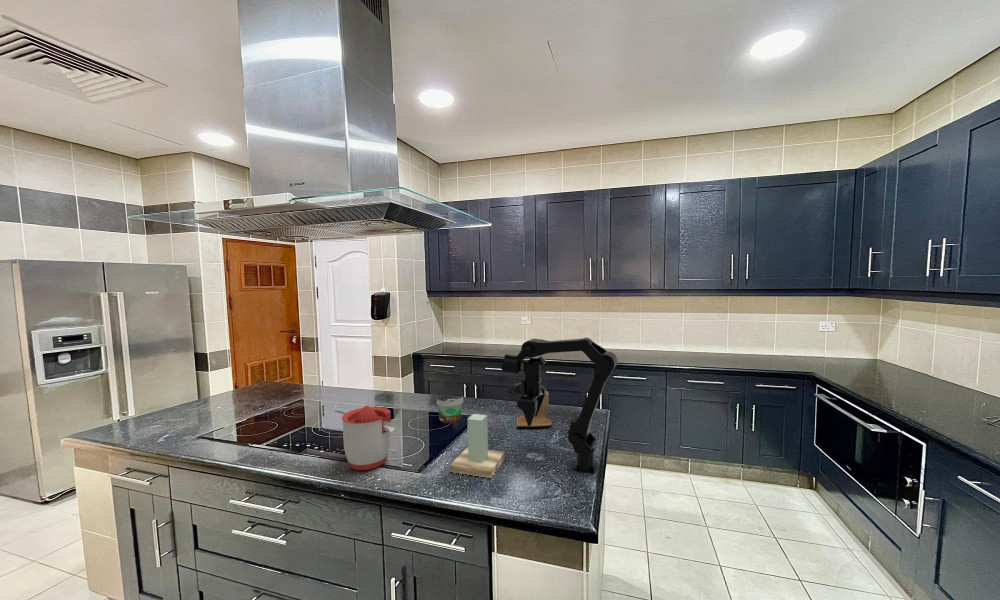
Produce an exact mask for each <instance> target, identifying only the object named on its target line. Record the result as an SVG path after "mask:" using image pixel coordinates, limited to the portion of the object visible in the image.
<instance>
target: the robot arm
mask: <svg viewBox="0 0 1000 600" xmlns="http://www.w3.org/2000/svg"><path fill="white" fill-rule="evenodd" d="M520 348H521V349H520V351H519V353H518V354H517V355H515V354H509V353H506V354H505V355H504V358H503V361H502V364H501V371H502V374H506V375H507V374H508V375H514V376H515V375H517V376H520V375H521V374H522V373H523V379H522V380H521V381H519V382H515V383H513V384H509V385H508V387H507V388H506V389H507V391H506V393H507V395H509V397H511V398H513V397H514V396H517V395H520V397H519V398H518V399H517V400H516V408H517V409H519V410H521V411H522V412H523V414H524V415H523V416H525V418H526V422H527V425H528V426H531V424H532V421H533V418H534V416H537V415H538V413H539V410H540V408H541V405H542V403H543V400H544V398H545V394H546V391H547V388H546V386H545V385H543V384H542V385H541V382H542V380H543V378H542V377H541V365H543V366H544V365H545V364H547V360H546V359H544V358H543V355H547V354H555V353H569V352H571V353H572V352H583V353H584V355H585V356H586V357H587V358H588V359H589V360H590V361H591V362H592V363H593V364H594V370H593V371H594V372H593V379H592V382H591V385H590V387H589V389H588V393H587V394H586V398H585V401H584V403H583V406H582V408H581V412H580V413H579V417H578V416H576V415H575V416H574V417H573V419H571V422H570V425H569V429H568V430H567V431H566V434H568V435H567V440H568V441H569V443H570V444H571V446H572V448H573V451H574V453H575V457H576V459H575V464H574V466H573V470H574V471H578V472H586V473H590V474H591V473H593V474H595V472H596V466H597V463H596V462H595V449H594V446H595V445H596V443H597V438H596V437H595V436H594V435H593V434H592V433H591V428H592V419H593V416H594V413H595V410H596V409H597V405H598V402H599V401H600V398H601V395H602V392H603V390H604V387H605V385H606V384H607V383H606V382H607V381H608V379H609V378H610V376H611V374H612V373H613V371H614V369H615V368H616V366H617V364H618V360H619V359H618V358H617V355H616V354H615V353H614V352H612V351H607V350H606V349H605V348H604V347H603V346H600V345H599V344H597V343H595V342H594V341H593V340H592V339H591V338H589V337H583V338H574V339H560V340H559V339H558V340H546V339H542V338H541V339H539V338H532V339H529V340H526V341H524V342H523V343H522V345H521V347H520ZM536 357H537V358H536ZM541 393H543V395H541ZM525 395H526V396H525Z"/></svg>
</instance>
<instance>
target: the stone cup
mask: <svg viewBox="0 0 1000 600" xmlns="http://www.w3.org/2000/svg"><path fill="white" fill-rule="evenodd" d="M541 395H543V393H541ZM524 396H526V395H524ZM549 402H550V393H549V392H548V391H547V390H546V394H545V398H544V400H543V403H542V405H541V408H540V410H539V413H538V415H537V416H534V418H533V421H532V424H531V426H528V425H527V422H526V418H525V415H522V416H519V417H517V419H516V423H515V424H516V427H523V428H525V427H527V428H531V427H532V428H533V427H535V428H536V427H549V426H552V424H553V422H552V420H551V419H550V418H549V417H547V409H548V407H549Z"/></svg>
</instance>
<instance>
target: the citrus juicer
mask: <svg viewBox="0 0 1000 600" xmlns="http://www.w3.org/2000/svg"><path fill="white" fill-rule="evenodd" d="M391 415H392V414H391V410H390V409H388V408H387V407H382V406H369V405H364V406H363V407H361V408H357V409H353V410H349V411H347V412H345V414H343V415H342V416H341V420H342V435H343V437H342V438H343V449H344V453H345V458H346V460H347V463H348V465H349V467H350V468H351V469H353V470H356V471H368V470H374V469H373V468H378V467H380V466H382V465H384V463H386V461H387V458H388V455H389V451H390V446H391V433H393V432H394V431H395V429H396V425H395V423H392V421H391V420H392V419H391Z"/></svg>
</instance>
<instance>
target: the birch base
mask: <svg viewBox="0 0 1000 600" xmlns="http://www.w3.org/2000/svg"><path fill="white" fill-rule="evenodd" d="M505 455H506V452H505V451H501V450H500V451H499V450H492V449H488V457H487V458H486V459H485V460H484V462H483V463H480V462H473V461H468V446H467V447H465V449H464V450H463V451H462V452H461V453H460V454H459V455H458V456H457V457H456V458H455V459H454V460H453V461H452V462H451V463H450V465H449V473H450V472H453V473H452V474H456V473H459V474H458V475H462V474H467V475H466V476H468V475H473V476H472V477H474V476H479V477H478V478H480V477H486V478H485V479H487V478H493V477H494V476H495V474H496V473H497V472H498V470H499V468H500V467H501V466H502V464H503V462H505V459H506V456H505ZM495 472H496V473H495ZM493 475H494V476H493ZM492 476H493V477H492Z"/></svg>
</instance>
